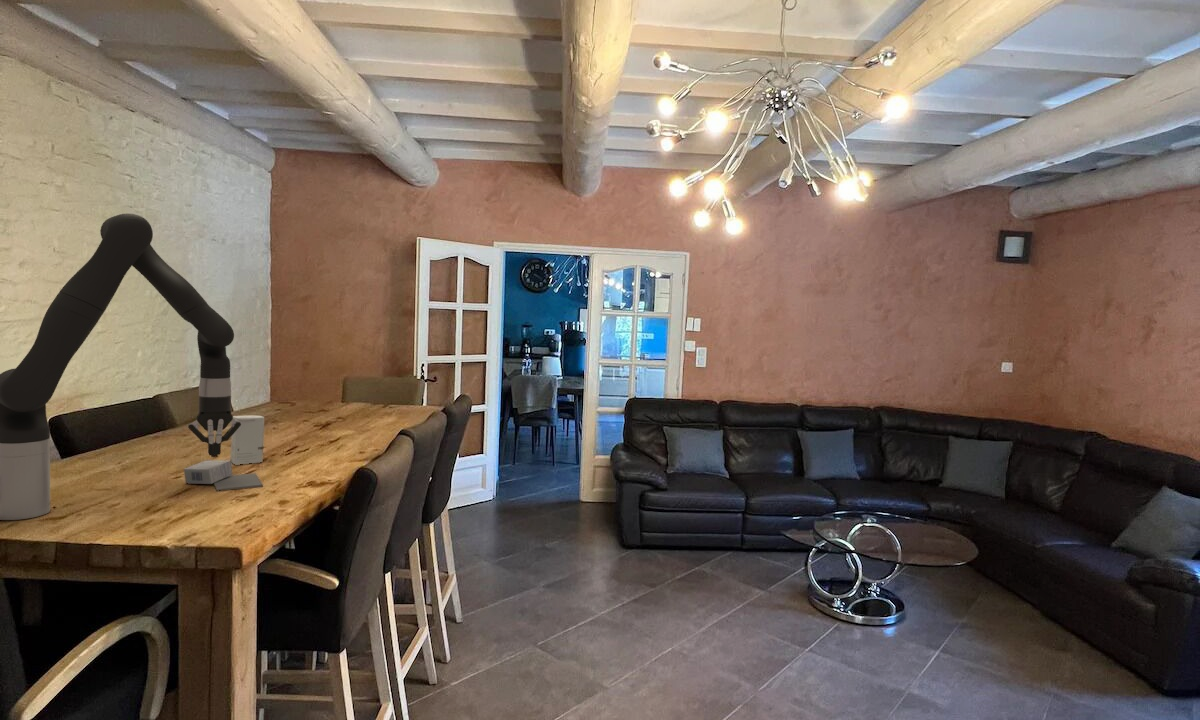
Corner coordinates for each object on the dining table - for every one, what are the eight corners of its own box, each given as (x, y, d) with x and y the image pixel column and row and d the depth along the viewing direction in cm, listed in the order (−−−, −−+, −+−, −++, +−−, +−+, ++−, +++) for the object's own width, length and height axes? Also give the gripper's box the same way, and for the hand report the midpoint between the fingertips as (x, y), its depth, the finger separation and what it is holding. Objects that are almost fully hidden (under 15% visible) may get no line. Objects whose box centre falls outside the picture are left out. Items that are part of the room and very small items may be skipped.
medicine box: (210, 484, 173) (233, 475, 181) (209, 468, 172) (231, 459, 181) (184, 484, 174) (208, 474, 182) (183, 468, 173) (206, 459, 182)
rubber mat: (216, 491, 168) (216, 489, 168) (211, 479, 180) (211, 477, 180) (262, 486, 175) (262, 484, 175) (255, 475, 186) (255, 473, 186)
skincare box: (234, 465, 196) (235, 418, 195) (229, 462, 200) (230, 415, 199) (264, 462, 201) (265, 416, 200) (258, 459, 206) (259, 413, 205)
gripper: (187, 396, 166) (186, 461, 167) (244, 395, 173) (243, 457, 174) (185, 393, 172) (184, 455, 173) (241, 391, 179) (240, 451, 181)
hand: (214, 456), depth 174 cm, fingers closed
